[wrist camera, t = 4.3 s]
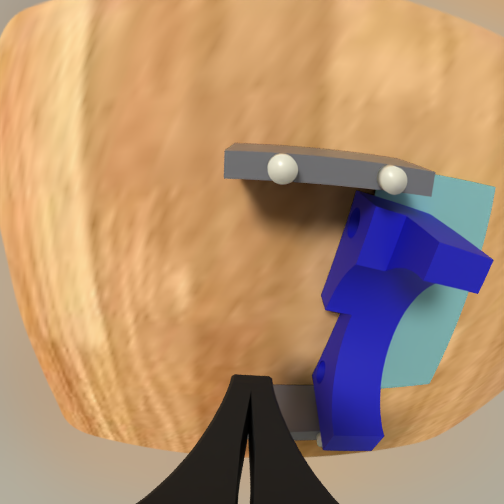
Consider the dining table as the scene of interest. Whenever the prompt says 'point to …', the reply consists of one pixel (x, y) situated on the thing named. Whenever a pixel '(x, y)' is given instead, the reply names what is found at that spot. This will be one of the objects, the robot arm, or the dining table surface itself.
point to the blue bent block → (379, 307)
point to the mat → (436, 296)
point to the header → (329, 173)
